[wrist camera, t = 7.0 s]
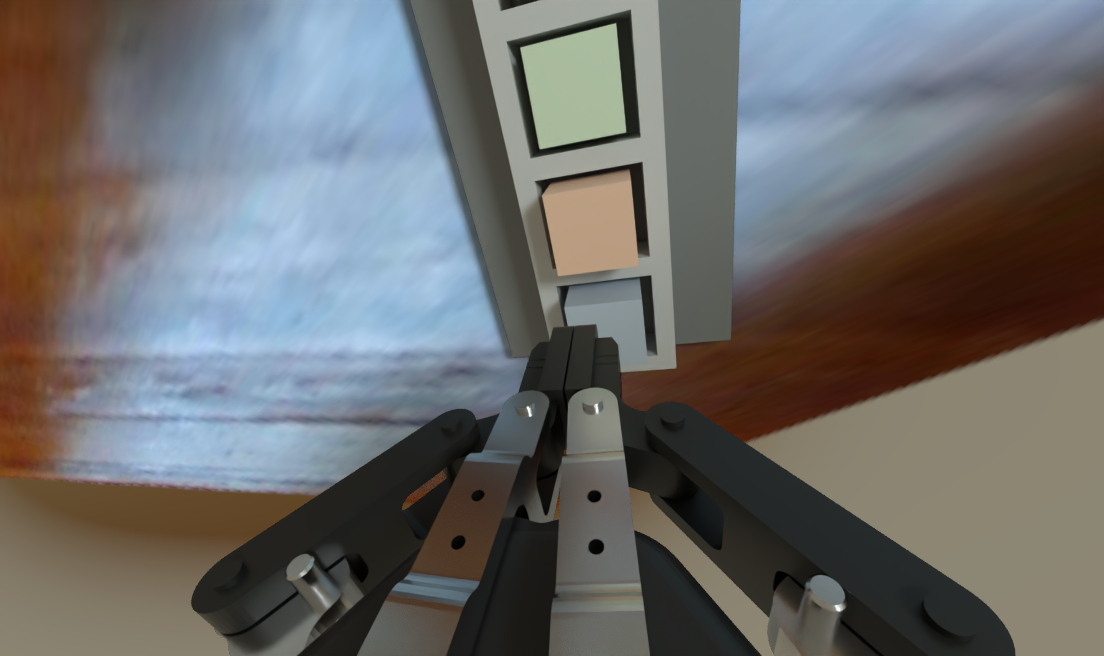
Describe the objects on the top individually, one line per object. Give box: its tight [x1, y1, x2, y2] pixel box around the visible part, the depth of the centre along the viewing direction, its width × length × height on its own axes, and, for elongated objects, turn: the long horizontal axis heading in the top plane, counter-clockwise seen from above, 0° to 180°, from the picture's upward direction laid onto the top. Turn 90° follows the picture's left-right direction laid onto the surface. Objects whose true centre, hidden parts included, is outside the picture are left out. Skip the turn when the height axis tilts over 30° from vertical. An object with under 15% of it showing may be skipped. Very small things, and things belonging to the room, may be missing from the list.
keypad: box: [410, 0, 741, 372], centre depth 20 cm, size 14×24×4 cm, turn 11°
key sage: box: [520, 23, 626, 149], centre depth 18 cm, size 4×4×3 cm
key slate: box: [564, 277, 648, 366], centre depth 22 cm, size 4×4×3 cm
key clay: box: [542, 169, 639, 276], centre depth 19 cm, size 4×4×3 cm
